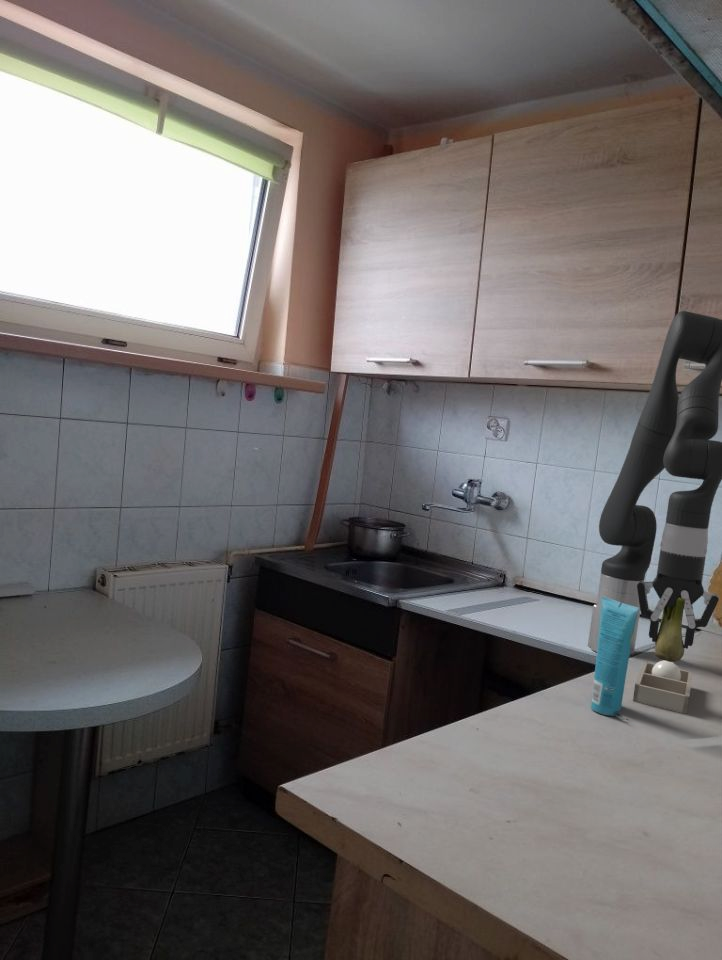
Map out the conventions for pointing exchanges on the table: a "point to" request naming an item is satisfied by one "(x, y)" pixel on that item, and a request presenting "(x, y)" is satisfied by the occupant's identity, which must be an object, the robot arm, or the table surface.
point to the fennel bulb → (671, 633)
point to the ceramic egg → (666, 670)
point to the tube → (612, 655)
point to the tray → (663, 690)
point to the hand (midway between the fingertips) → (669, 643)
